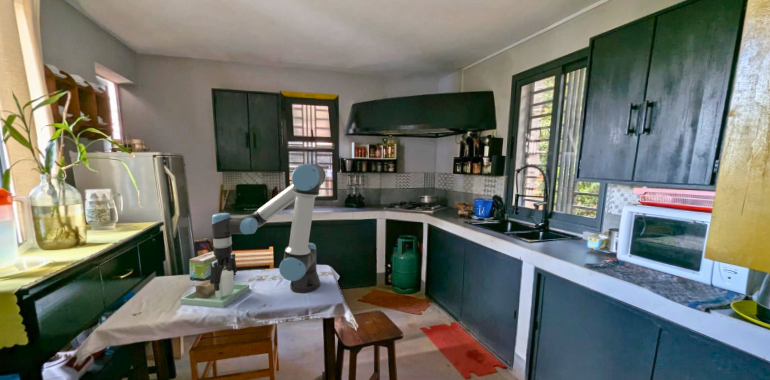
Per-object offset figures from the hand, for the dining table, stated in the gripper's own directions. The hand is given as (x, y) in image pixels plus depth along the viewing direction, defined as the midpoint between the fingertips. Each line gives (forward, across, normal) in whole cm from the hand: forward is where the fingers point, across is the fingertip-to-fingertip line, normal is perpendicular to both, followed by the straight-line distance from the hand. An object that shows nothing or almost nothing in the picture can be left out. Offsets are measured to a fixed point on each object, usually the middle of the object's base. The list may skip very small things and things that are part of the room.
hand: (225, 292), depth 134 cm
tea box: (+3, -16, -22) cm, 28 cm away
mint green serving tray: (+3, 0, -4) cm, 5 cm away
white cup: (0, 0, 0) cm, 0 cm away
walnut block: (+2, 0, -10) cm, 10 cm away
